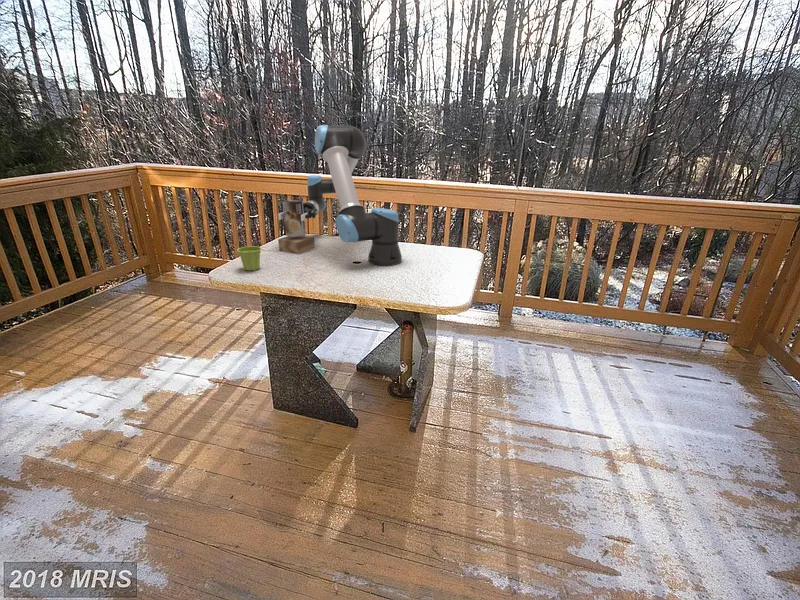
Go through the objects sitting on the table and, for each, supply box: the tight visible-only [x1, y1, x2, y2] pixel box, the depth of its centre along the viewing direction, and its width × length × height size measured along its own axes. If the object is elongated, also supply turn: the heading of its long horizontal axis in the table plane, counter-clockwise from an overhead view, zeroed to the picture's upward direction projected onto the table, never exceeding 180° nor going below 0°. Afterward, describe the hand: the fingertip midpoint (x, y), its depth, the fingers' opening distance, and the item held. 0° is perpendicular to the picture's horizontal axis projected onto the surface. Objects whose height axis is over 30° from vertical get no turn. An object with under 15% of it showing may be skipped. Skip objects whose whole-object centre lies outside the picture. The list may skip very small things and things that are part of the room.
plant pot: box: [236, 245, 262, 272], centre depth 163 cm, size 9×9×9 cm
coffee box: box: [282, 199, 307, 237], centre depth 187 cm, size 9×6×16 cm
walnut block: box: [277, 235, 316, 255], centre depth 192 cm, size 12×12×6 cm
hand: (290, 217), depth 183 cm, fingers closed on coffee box, 10 cm apart
